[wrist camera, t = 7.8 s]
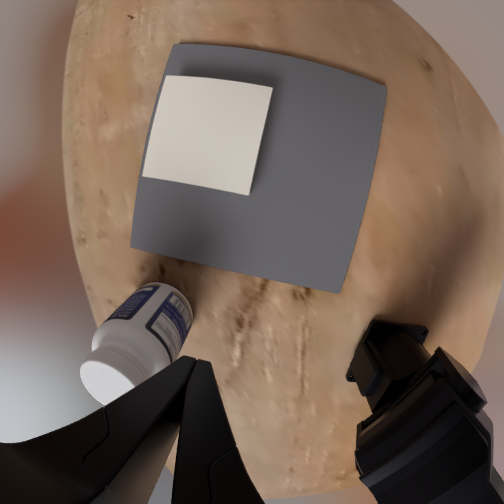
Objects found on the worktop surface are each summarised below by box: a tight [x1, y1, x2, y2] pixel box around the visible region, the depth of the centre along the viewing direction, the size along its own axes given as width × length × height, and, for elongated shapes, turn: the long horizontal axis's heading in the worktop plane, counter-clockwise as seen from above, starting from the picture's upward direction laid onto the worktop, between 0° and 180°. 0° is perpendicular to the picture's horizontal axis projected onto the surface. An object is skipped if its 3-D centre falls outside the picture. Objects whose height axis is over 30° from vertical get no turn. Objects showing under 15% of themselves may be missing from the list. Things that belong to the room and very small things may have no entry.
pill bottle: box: [80, 282, 193, 405], centre depth 16 cm, size 5×5×10 cm
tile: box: [142, 75, 273, 196], centre depth 16 cm, size 2×7×7 cm
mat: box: [130, 44, 387, 294], centre depth 17 cm, size 16×16×1 cm
